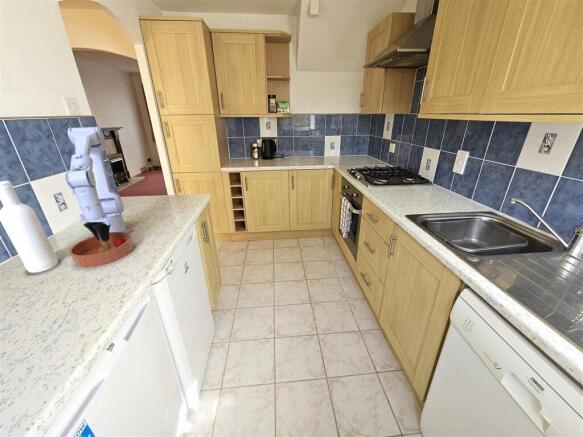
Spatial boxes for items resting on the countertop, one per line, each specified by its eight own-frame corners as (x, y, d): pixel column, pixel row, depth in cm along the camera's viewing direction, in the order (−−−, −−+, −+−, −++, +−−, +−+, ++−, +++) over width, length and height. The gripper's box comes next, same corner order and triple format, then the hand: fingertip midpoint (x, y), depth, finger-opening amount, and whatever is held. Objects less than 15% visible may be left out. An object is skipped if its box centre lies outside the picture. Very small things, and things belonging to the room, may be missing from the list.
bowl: (62, 263, 85) (56, 251, 83) (112, 239, 101) (109, 229, 99) (97, 273, 80) (92, 260, 78) (145, 246, 95) (141, 235, 93)
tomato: (110, 246, 93) (112, 238, 93) (118, 246, 96) (120, 238, 96) (116, 247, 92) (118, 239, 92) (123, 247, 95) (125, 239, 95)
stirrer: (95, 253, 89) (87, 234, 86) (110, 246, 94) (103, 227, 91) (105, 256, 88) (98, 236, 84) (120, 248, 92) (113, 229, 89)
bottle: (30, 266, 84) (-15, 182, 72) (60, 258, 89) (22, 177, 77) (26, 277, 78) (-24, 187, 67) (58, 268, 83) (16, 182, 71)
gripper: (64, 206, 82) (78, 241, 88) (92, 211, 78) (106, 248, 83) (86, 200, 89) (98, 233, 94) (114, 204, 84) (125, 238, 89)
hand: (103, 239), depth 89 cm, fingers closed on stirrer, 2 cm apart
